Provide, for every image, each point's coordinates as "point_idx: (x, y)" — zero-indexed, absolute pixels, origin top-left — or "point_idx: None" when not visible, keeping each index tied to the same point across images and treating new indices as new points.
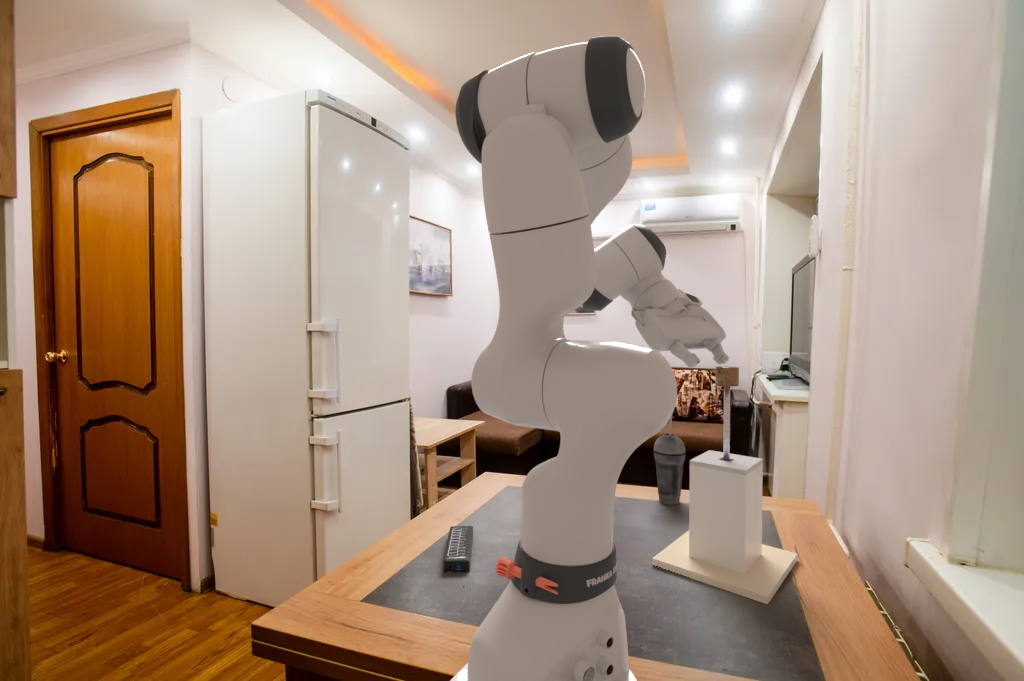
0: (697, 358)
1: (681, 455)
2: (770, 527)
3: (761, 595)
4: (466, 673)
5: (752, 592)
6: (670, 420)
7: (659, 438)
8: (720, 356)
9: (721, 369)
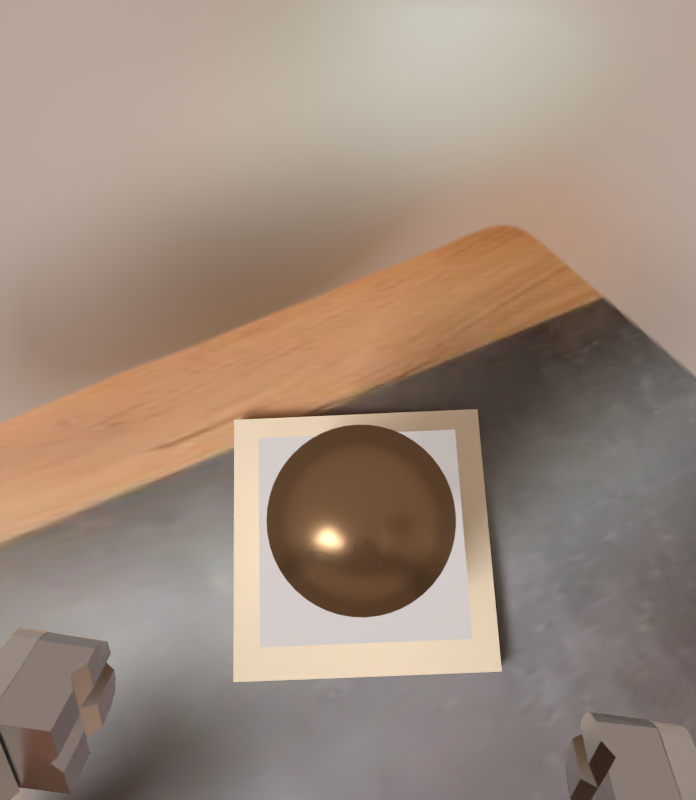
0: (627, 740)
1: None
2: (71, 529)
3: (478, 420)
4: None
5: (479, 437)
6: None
7: None
8: (79, 700)
9: (452, 532)
